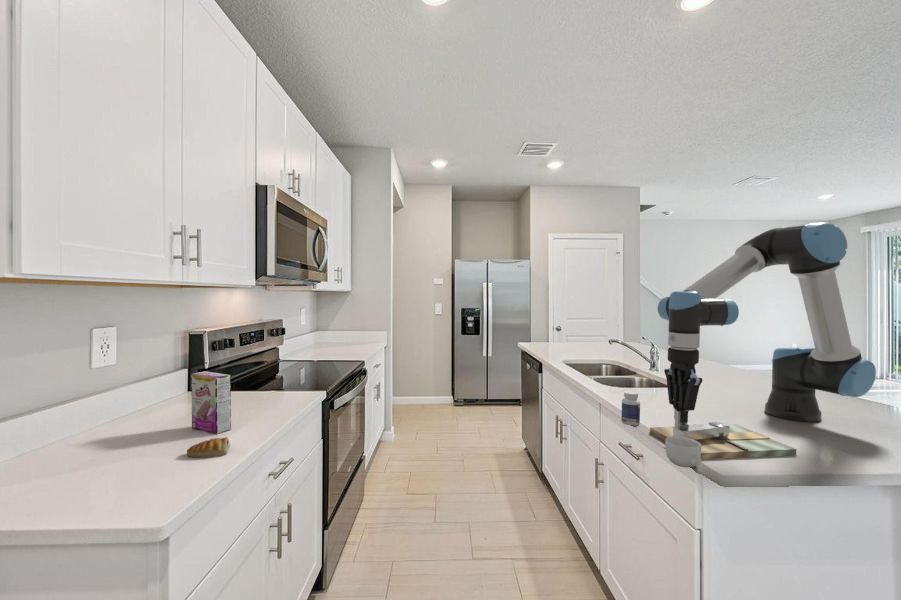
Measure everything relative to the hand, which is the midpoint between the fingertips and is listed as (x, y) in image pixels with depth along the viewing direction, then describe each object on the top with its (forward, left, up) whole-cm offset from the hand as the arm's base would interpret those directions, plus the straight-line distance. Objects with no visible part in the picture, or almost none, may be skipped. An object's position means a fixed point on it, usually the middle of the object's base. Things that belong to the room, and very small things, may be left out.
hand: (680, 433), depth 120 cm
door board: (-11, +1, -3) cm, 11 cm away
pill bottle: (+4, -18, -3) cm, 19 cm away
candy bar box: (+131, -24, -3) cm, 133 cm away
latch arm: (-5, +2, 0) cm, 5 cm away
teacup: (+8, +14, -3) cm, 16 cm away
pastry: (+124, -6, -3) cm, 124 cm away
